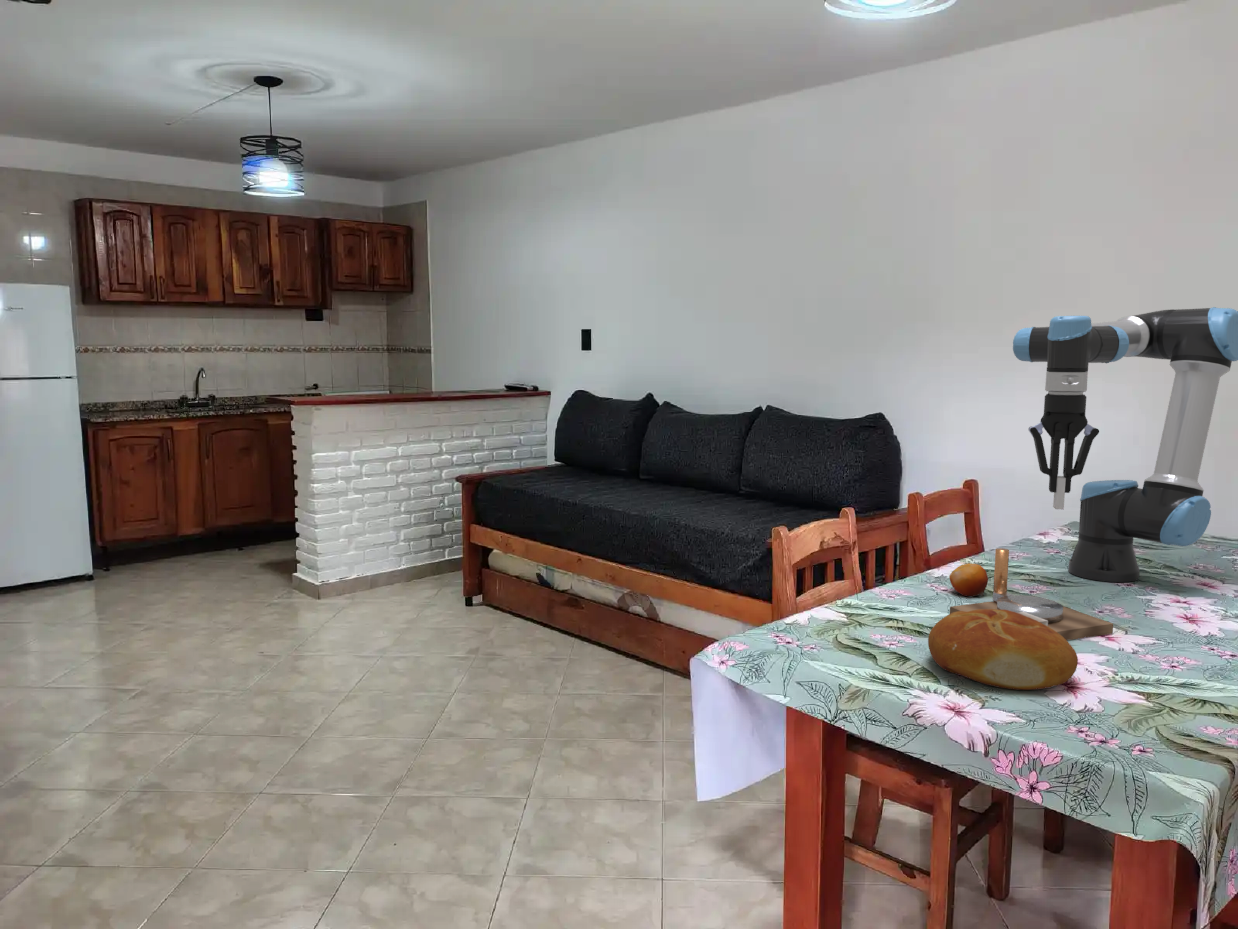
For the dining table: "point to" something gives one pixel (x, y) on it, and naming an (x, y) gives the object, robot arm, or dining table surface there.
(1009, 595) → the cam disc
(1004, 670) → the bread
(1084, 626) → the board
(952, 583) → the fruit
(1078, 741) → the dining table surface
